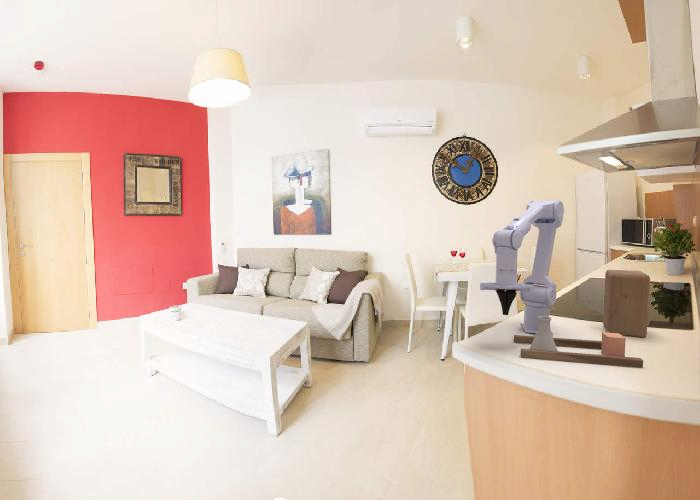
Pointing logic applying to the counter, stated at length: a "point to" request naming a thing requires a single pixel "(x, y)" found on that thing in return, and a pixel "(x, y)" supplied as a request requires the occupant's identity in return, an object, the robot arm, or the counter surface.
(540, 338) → the flask
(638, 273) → the wooden block
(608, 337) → the block
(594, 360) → the strip
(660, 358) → the counter surface
